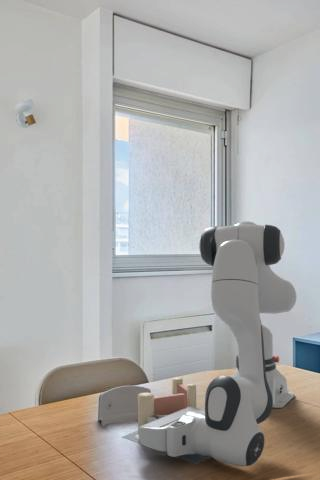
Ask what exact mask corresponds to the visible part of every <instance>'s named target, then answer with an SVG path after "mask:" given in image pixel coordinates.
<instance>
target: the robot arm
mask: <svg viewBox="0 0 320 480" xmlns="http://www.w3.org/2000/svg"><path fill="white" fill-rule="evenodd" d="M198 248H199V253H200V256H201V259H202V261H203V262H204V263H206V265H209V266H211V267H212V273H211V285H210V287H211V288H210V289H211V291H210V293H211V294H210V299H211V306H212V309H213V311H214V314H215V315H216V316H217V318H218V319H220V321H222V322H223V323H224V324H225V325H226V326H227V327H228V329H229V330H230V331H231V332H232V333H233V335H234V338H235V340H236V346H237V349H236V351H237V353H236V354H237V355H236V358H235V367H236V370H235V371H234V372H233V376H230V375H220V376H217V377H215V378H214V379H213V380H212V381H210V383H209V384H208V386H207V388H206V390H205V391H206V392H205V397H204V409H202V408H198V407H197V406H196V407H187V408H185V409H182V410H180V411H177V412H175V413H172V414H170V415H157V414H155V415H152V416H150V417H148V418H147V424H145V425H142V426H140V427H139V441H140V443H141V444H140V445H141V446H145V447H147V448H150V449H153V450H155V451H159V452H161V451H167V454H166V455H167V456H169V457H172V458H177V456H181V455H186V454H199V455H202V456H211V457H210V458H213V459H214V460H216V461H218V462H222V463H225V464H227V465H232V466H237V467H250V466H251V465H253V464H255V463H256V462H258V460H259V458H260V457H261V455H262V454H263V451H264V448H265V435H264V433H263V432H262V430H261V429H260V427H259V424H261V423H263V422H265V421H266V420H267V419H268V418H269V416H270V415H271V413H272V410H273V409H274V408H276V409H278V408H279V409H280V408H284V407H285V406H286V405H287V404H288V403H289V402H290V401H291V400H292V399H293V398H294V397H295V392H293V391H292V390H288V383H287V378H286V377H285V376H284V375H283V374H282V373H281V372H280V371H279V370H278V369H277V366H276V365H277V364H276V363H280V356H279V355H277V356H276V355H273V352H274V350H273V349H274V348H273V346H274V345H273V338H274V337H273V333H272V331H271V330H270V329H269V328H268V327H266V326H265V325H264V324H262V320H261V315H260V314H269V315H270V314H272V315H273V314H274V315H275V314H282V313H289V312H290V311H291V310H292V309H293V308H294V307H295V305H296V301H297V292H296V288H295V287H294V285H293V284H292V283H291V282H290V281H289V280H286V279H284V278H282V277H280V276H279V275H277V274H276V273H275V272H274V271H273V270H272V268H271V266H272V265H275V264H278V263H279V262H280V261H281V260H282V256H283V254H284V251H285V239H284V236H283V233H282V232H281V230H280V228H278V227H277V226H276V225H271V224H264V225H260V224H257V223H255V222H252V221H246V220H244V221H239V222H238V223H236V224H234V225H226V226H211V227H207V228H205V229H204V230H203V231H202V233H201V235H200V239H199V243H198Z"/></svg>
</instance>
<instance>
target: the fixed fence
mask: <svg viewBox="0 0 320 480" xmlns="http://www.w3.org/2000/svg"><path fill="white" fill-rule="evenodd" d="M171 381H172V382H171V386H172V387H171V389H172V391H171V395H173V394H180V393H183V394H185V408H187V407H196V408H197V384H195V383H187V384H186V386H185V385H184V382H183V381H184V379H183V377H172V379H171Z"/></svg>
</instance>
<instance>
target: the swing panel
mask: <svg viewBox="0 0 320 480" xmlns="http://www.w3.org/2000/svg"><path fill="white" fill-rule="evenodd" d="M182 409H185V394H183V393H180V394H173V395H172V394H166V395H158V396H155V394H154V393H152V392H151V393H140V394H138V420H137V431H138V436H139V427H140V426H142V425H145V424H147V418H148V417H150V416H152V415H155V414H157V415H170V414H172V413H175V412H177V411H180V410H182Z"/></svg>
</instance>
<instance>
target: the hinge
mask: <svg viewBox="0 0 320 480" xmlns="http://www.w3.org/2000/svg"><path fill="white" fill-rule="evenodd" d="M140 393H152V391H151V389H149V388H147V387H146V386H145V387H144V386H140V385H139V386H138V385H122V386H116V387H113V388H110V389H107V390H106V391H104V392H102V393H99V396H98V410H97V411H98V415H97V421H101V425H102V426H108V424H113V423H121V422H130V421H138V394H140Z"/></svg>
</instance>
